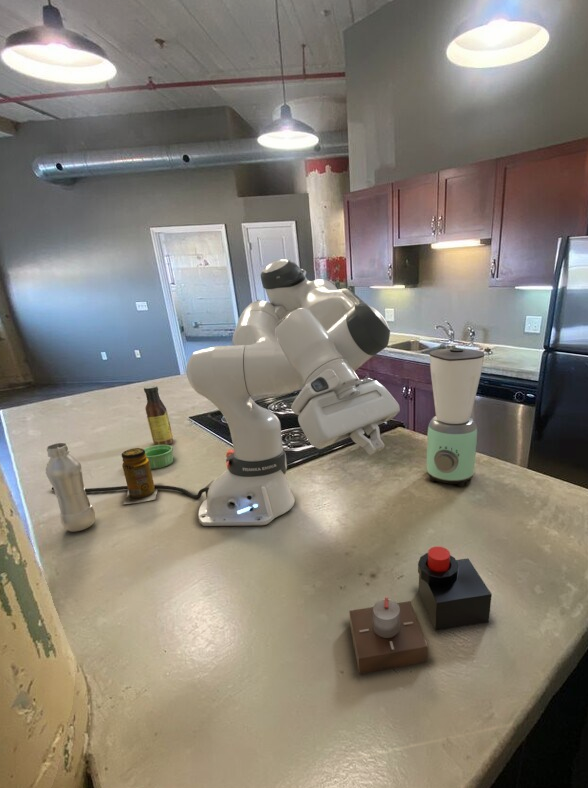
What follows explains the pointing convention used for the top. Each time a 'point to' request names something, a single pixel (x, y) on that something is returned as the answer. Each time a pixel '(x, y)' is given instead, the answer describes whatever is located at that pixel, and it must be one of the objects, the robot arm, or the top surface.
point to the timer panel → (387, 641)
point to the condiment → (138, 476)
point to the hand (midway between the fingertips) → (377, 451)
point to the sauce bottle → (157, 417)
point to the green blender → (453, 415)
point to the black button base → (454, 594)
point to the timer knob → (386, 618)
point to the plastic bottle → (69, 488)
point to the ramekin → (159, 455)
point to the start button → (438, 559)
